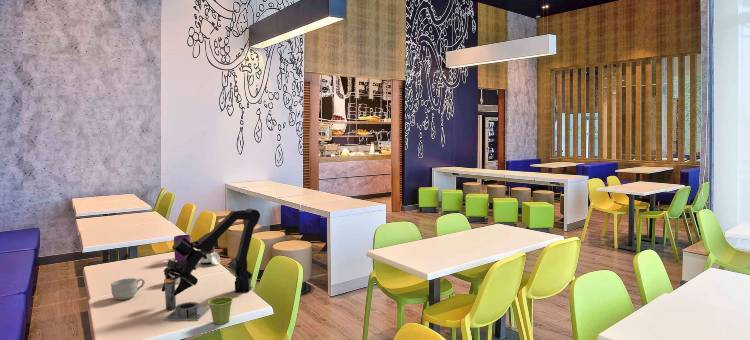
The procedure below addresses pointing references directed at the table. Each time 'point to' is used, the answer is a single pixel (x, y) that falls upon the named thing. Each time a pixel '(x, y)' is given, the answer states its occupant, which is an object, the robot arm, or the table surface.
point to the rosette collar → (187, 312)
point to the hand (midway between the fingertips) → (168, 293)
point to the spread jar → (210, 258)
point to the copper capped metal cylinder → (170, 294)
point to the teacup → (125, 288)
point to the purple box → (177, 255)
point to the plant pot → (220, 309)
